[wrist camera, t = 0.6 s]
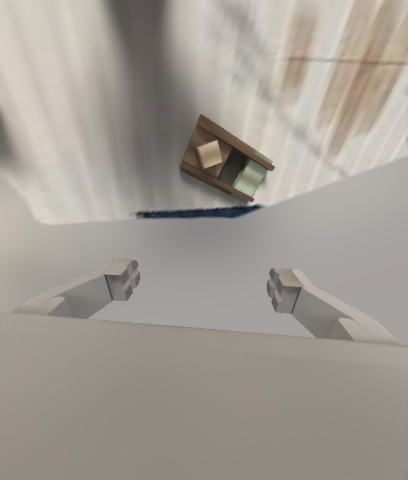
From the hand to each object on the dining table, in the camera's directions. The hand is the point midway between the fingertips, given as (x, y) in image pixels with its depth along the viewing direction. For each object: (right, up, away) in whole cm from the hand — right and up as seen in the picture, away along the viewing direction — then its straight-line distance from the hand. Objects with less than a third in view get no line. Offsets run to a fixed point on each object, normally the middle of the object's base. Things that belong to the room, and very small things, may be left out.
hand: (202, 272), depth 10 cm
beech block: (+1, +26, +33) cm, 42 cm away
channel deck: (+7, +25, +38) cm, 46 cm away
